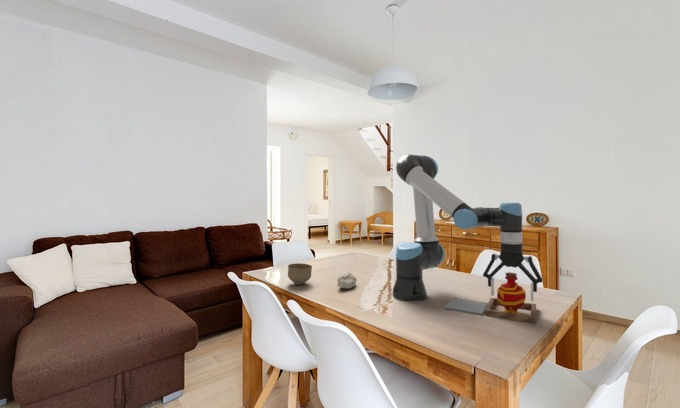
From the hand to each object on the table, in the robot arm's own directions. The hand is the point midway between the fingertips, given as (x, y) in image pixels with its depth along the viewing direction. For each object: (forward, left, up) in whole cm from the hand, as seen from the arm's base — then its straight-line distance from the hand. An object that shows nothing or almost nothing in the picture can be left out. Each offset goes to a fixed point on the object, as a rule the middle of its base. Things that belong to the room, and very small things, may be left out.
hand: (511, 297), depth 126 cm
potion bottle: (0, 0, -6) cm, 6 cm away
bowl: (-97, -9, -6) cm, 98 cm away
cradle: (0, 0, -6) cm, 6 cm away
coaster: (-16, -2, -6) cm, 17 cm away
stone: (-73, -2, -6) cm, 73 cm away
